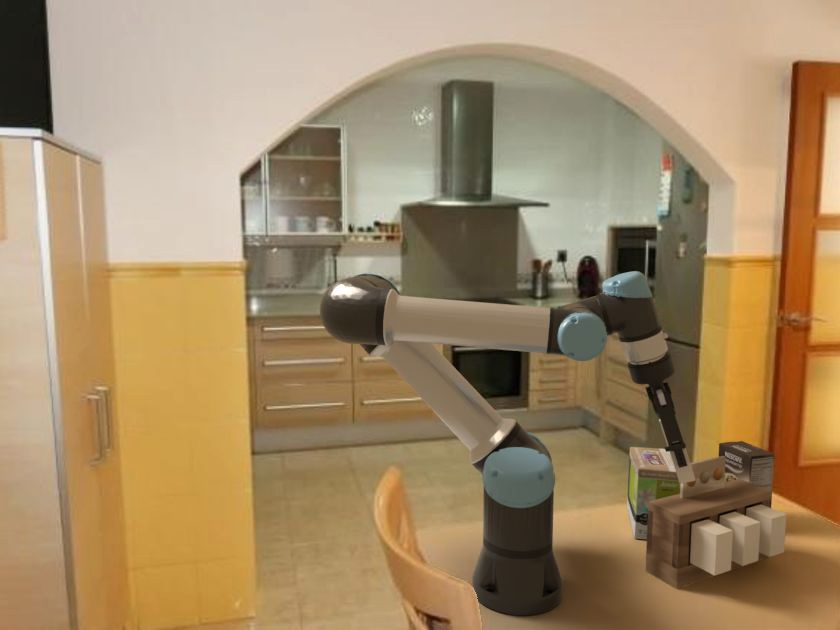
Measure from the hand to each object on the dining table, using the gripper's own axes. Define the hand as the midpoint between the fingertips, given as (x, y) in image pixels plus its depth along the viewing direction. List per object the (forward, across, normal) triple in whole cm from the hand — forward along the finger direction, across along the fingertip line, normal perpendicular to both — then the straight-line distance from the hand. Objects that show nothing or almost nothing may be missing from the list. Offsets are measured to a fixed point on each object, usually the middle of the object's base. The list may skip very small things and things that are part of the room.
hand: (681, 464), depth 122 cm
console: (+19, -2, +1) cm, 19 cm away
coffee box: (+25, +19, -8) cm, 32 cm away
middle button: (+16, -6, -4) cm, 18 cm away
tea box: (+18, +13, +9) cm, 24 cm away
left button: (+14, -11, +1) cm, 18 cm away
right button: (+18, -2, -9) cm, 21 cm away
